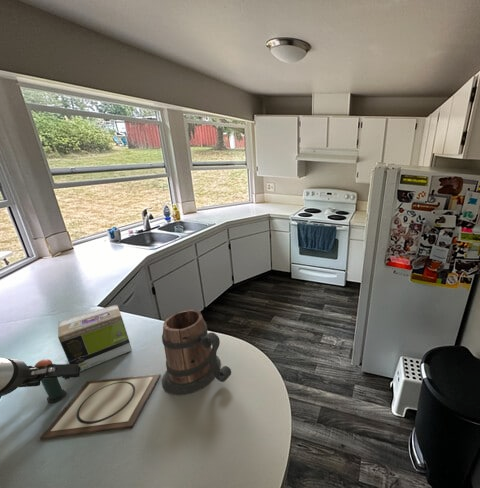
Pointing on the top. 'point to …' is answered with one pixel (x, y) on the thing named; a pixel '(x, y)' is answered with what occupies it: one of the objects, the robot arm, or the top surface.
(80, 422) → the sketch board
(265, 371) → the top surface
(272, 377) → the top surface
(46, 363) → the dot stamp
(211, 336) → the tankard
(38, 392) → the top surface
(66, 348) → the tea box
